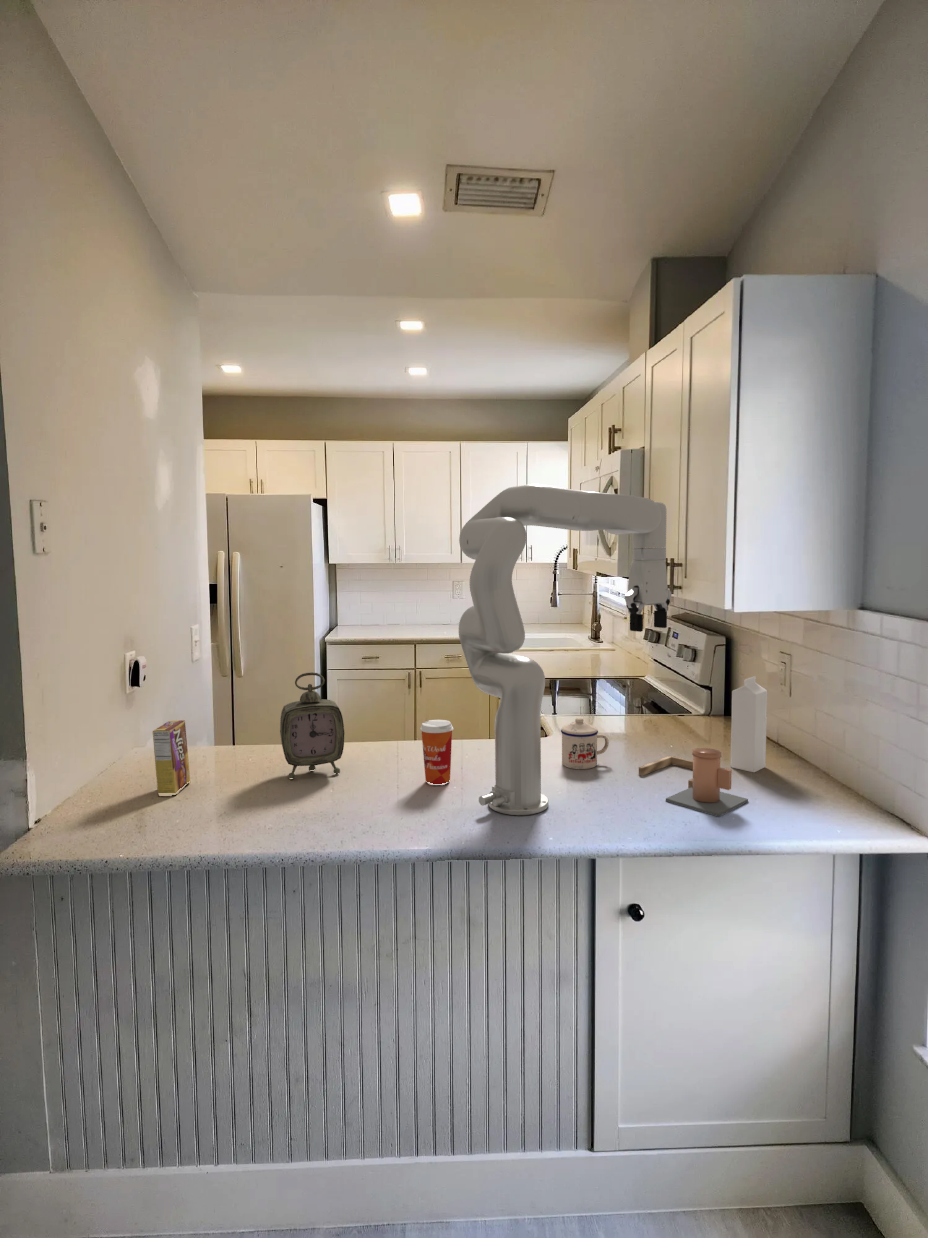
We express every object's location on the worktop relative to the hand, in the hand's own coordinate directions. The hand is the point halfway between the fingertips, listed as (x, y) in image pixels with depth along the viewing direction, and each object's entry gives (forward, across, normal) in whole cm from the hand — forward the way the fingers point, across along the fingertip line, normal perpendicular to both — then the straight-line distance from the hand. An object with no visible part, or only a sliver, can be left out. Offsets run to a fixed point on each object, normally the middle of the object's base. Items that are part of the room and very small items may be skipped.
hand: (648, 629), depth 163 cm
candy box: (+34, +88, -67) cm, 116 cm away
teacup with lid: (+34, +6, -14) cm, 38 cm away
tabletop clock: (+34, +59, -55) cm, 88 cm away
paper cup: (+34, +41, -29) cm, 61 cm away
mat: (+34, +8, +20) cm, 41 cm away
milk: (+34, -20, +15) cm, 43 cm away
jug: (+34, +8, +21) cm, 40 cm away
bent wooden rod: (+34, -3, +7) cm, 35 cm away
